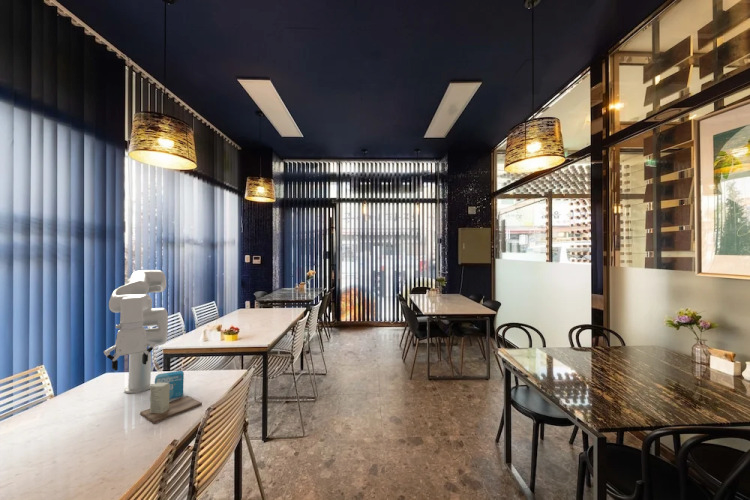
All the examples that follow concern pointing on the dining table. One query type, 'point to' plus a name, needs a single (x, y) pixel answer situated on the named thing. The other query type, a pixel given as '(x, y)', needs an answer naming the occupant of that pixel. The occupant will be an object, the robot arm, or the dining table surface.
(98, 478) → the dining table surface
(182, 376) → the data package
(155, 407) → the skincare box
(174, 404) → the serving board
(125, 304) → the robot arm
